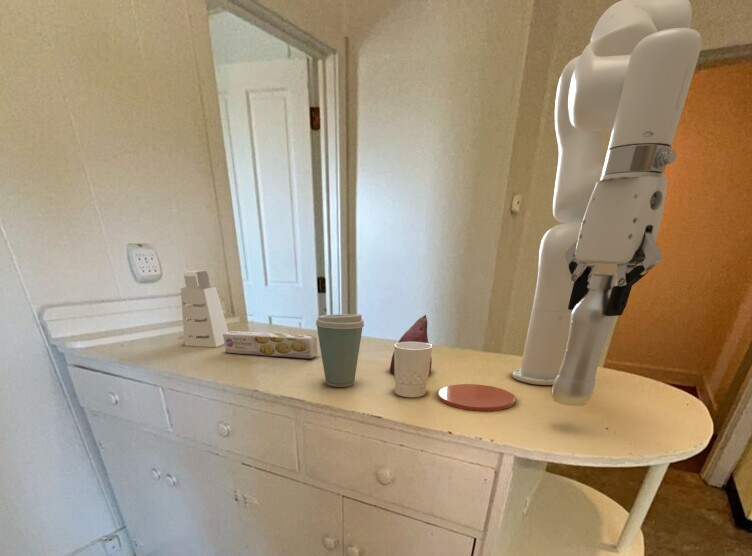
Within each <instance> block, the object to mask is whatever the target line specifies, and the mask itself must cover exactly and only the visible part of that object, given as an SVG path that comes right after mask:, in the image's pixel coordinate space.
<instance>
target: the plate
mask: <svg viewBox="0 0 752 556" xmlns="http://www.w3.org/2000/svg"><path fill="white" fill-rule="evenodd" d="M437 396H438V399H439V400H440V401H441V402H442V403H443V404H446V405H447V406H451V407H454V408H458V409H461V410H462V409H463V410H466V411H467V410H468V411H477V412H478V411H479V412H493V411H494V412H495V411H501V410H506V409H509V408H511V407H513V406H514V405H515V402H516V396H515V395H514V394H513V393H512V392H510V391H508V390H506V389H503V388H500V387H496V386H492V385H486V384H475V383H461V384H459V383H458V384H452V385H448V386H444V387H442V388H441V389H440V390H439V391H438V395H437Z"/></svg>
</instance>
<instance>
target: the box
mask: <svg viewBox="0 0 752 556" xmlns="http://www.w3.org/2000/svg"><path fill="white" fill-rule="evenodd" d="M317 336H318V335H313V334H312V335H310V334H297V333H296V334H295V333H278V332H277V333H276V332H257V331H256V332H255V331H240V330H239V331H237V330H232V331H229V332H228V333H224V334H223V338H224V348H225V353H227V354H241V355H255V356H267V357H269V356H270V357H271V356H272V357H284V358H298V359H309V360H310V359H312V358H314V357H316V356H318V355H319V352H318V339H317V338H318V337H317Z"/></svg>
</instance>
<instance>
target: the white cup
mask: <svg viewBox="0 0 752 556" xmlns="http://www.w3.org/2000/svg"><path fill="white" fill-rule="evenodd" d="M393 346H394V348H393V349H394V350H393V353H394V369H395V371H394V374H393V375H394V393H395V394H396V395H397V396H400V397H403V398H420V397H423V396H425V395H426V391H427V385H428V381H429V375H430V374H429V369H430V361H431V358H432V354H433V353H432V352H433V345H432V344H431V343H429V344H428V343H423V342H400V343H398V342H396V343H395V344H394V345H393Z"/></svg>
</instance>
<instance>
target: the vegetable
mask: <svg viewBox="0 0 752 556" xmlns="http://www.w3.org/2000/svg"><path fill="white" fill-rule="evenodd" d="M400 342H423V343H428V344H430V343H429V338H428V318H427V314H425V315H423V316H421V317H419V318H418V319H417V320H416V321H415V322H414V323H413V325H411V327H410V328H408V329H407V330H406V332H405V333H404V334H403V335H402V336H401V337H400V338H399V340H398V341H397V343H400ZM432 359H433V358H432V357H431V361H430V369H429V375H430V374H431V373H432ZM394 371H395V369H394V352H392V356H391V360H390V365H389V372H390V373H391V374H393V375H395V374H394Z"/></svg>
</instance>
